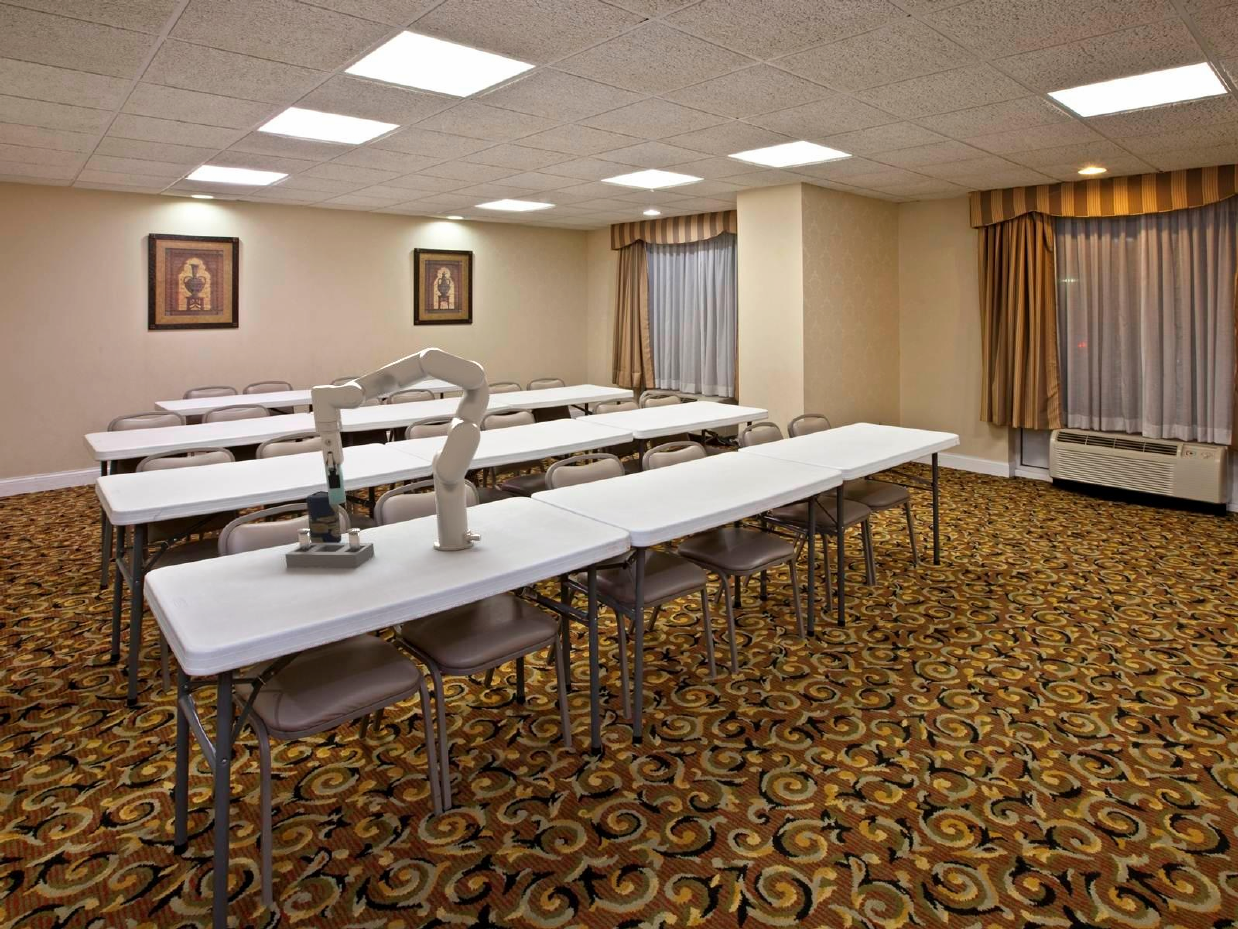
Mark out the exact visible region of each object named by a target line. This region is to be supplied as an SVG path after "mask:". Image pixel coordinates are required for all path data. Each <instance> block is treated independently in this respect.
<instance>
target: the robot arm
mask: <svg viewBox="0 0 1238 929" xmlns="http://www.w3.org/2000/svg"><path fill="white" fill-rule="evenodd" d="M431 378H434V379H437V380H439V381H442V382H444V383H448V384H451V385H454V386H457V387H460V388H461V389H462V393H461V398H460V401H459V403H458V406H457V409H456V411H455V413H454V415H453V417H452V420H451V422H450V424H449V425H448V427H447V429H446V435H447V438H446V440H445V443H444V445H443V447H442V449H439V450H438V451H437V452H436V454H435V455H434V456H433V458H432V465H431V466H432V474H433V482H434V484H433V486H434V496H435V497H434V498H435V509H436V510H435V511H436V524H437V538H438V539H437V540H435V541H434V542H433V547H434V549H436V550H438V551H447V552H450V551H451V552H452V551H458V550H459V551H460V550H464V548H465V549H467V548H470V547H472V546H473V545H474V543H475V542H481V540H482V535H481V534H480V533H472V529H471V528H470V529H469V528H468V527H469V526H468V525H469V523H468V512H467V511H468V509H467V494H466V482H465V480H466V479H465V476H466V475H467V473H468V471H469V468H470V466H471V464H472V463H473V462H472V461H473V460H474V457H475V454H476V452H477V451H478V448H479V446H480V443H481V432H480V427H481V424H482V422H483V419H484V416H485V414H486V411H487V408H488V406H489V402H490V396H491V394H490V385H489V382H488V379H487V377H486V372H485V369H484V368H483V367H482V365H481V364H480V363H478V362H476V361H474V360H469V359H466V358H462V357H460V356H458V355H454V354H452V353H449V352H446V351H444V350H441V349H440V348H436V347H430V348H426V349H424V350H421V351H419V352H417V353H414V354H411V355H409V356H406V357H404V358H402V359H399V360H397V361H395V362H392V363H389V364H388V365H386V366H384V367H382V368H380V369H378V370H375V371H373V372H370V373H368V374H366V375H363V376H361V377H359V378H356V379H354V380H353V379H352V380H351V381H349V382H347V383H344V385H339V386H335V385H316V386H313V387H312V388H311V390H310V395H311V396H310V397H311V404H312V411H313V412H312V413H313V419H314V427H315V428H314V429H315V433H316V434H318V435H320V443H321V453H322V458H323V459H322V460H323V464H324V467H325V466H327V467H328V481H329V488H330V489H335V488H340V487H341V484H340V476H339V475H338V465H337V464H339V465H341V464H342V465H343V462H344V460H345V456H344V451H343V444H342V437H341V433H342V432H343V421H342V415H341V410H356V409H359V408H361V407H363V405H364V404H365V403H366V402H369V401H370V400H373V399H375V398H378V397H381V396H384V395H387V394H390V393H396V392H401V391H404V390H405V389H407V388H410V387H412V386H416V385H418V384H420V383H422V382H424V381H426V380H429V379H431ZM333 463H336V465H333ZM334 467H335V468H334Z"/></svg>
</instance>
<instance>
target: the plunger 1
mask: <svg viewBox="0 0 1238 929" xmlns="http://www.w3.org/2000/svg"><path fill="white" fill-rule="evenodd" d="M296 533H297V535H298V543H299V546H300V552H306V551H308V550H310V549H311V547H310V543H311V536H310V528H309V527H301V528H297V529H296Z"/></svg>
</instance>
